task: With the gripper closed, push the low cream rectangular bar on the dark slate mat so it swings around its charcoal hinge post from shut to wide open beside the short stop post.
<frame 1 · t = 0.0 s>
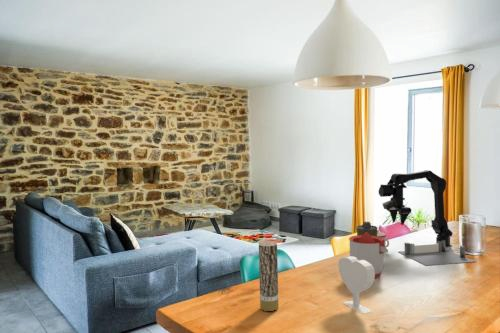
hand: (397, 223, 228), 15 cm above the table, tool pointing down, fingers open, 9 cm apart
citrus juicer: (368, 276, 184), on the table
cream rectangular bar: (425, 247, 217), point 3 cm above the table, hinge at 0.0°
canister: (367, 260, 208), on the table
teacup with lid: (379, 250, 226), on the table
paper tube: (269, 309, 149), on the table
mat: (435, 256, 211), on the table
heart sculpture: (356, 307, 149), on the table
gate posts: (443, 252, 219), resting on mat
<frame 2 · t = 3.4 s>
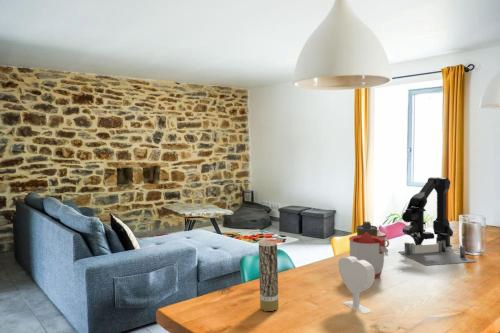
hand: (417, 248, 219), 3 cm above the table, tool pointing down, fingers closed
cream rectangular bar: (426, 247, 217), point 3 cm above the table, hinge at 1.0°, touching gripper
everything else where it was.
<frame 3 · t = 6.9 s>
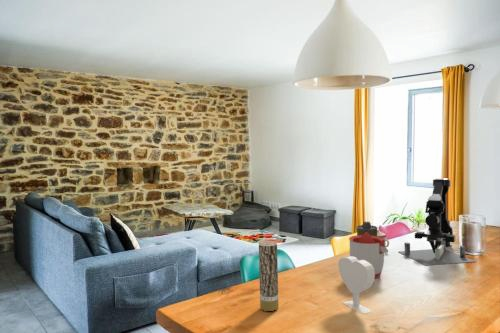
hand: (434, 253, 209), 3 cm above the table, tool pointing down, fingers closed
cream rectangular bar: (440, 250, 210), point 3 cm above the table, hinge at 46.8°, touching gripper
everything else where it was.
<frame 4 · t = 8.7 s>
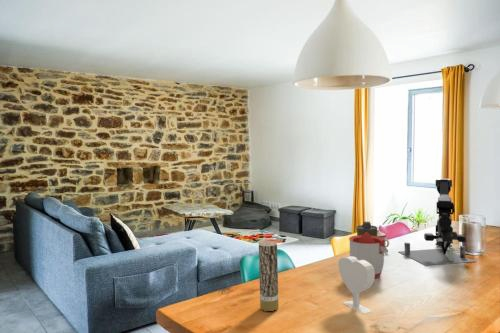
hand: (444, 254, 206), 3 cm above the table, tool pointing down, fingers closed
cream rectangular bar: (447, 251, 209), point 3 cm above the table, hinge at 66.1°, touching gripper
everything else where it was.
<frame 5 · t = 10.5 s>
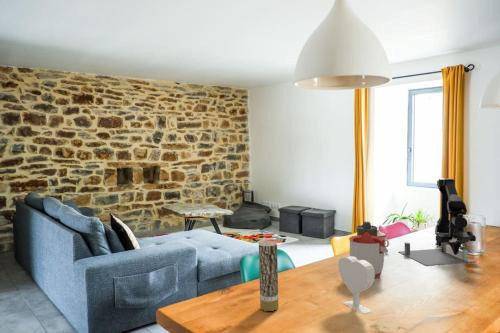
hand: (455, 254, 205), 3 cm above the table, tool pointing down, fingers closed
cream rectangular bar: (455, 251, 209), point 3 cm above the table, hinge at 87.6°, touching gripper
everything else where it was.
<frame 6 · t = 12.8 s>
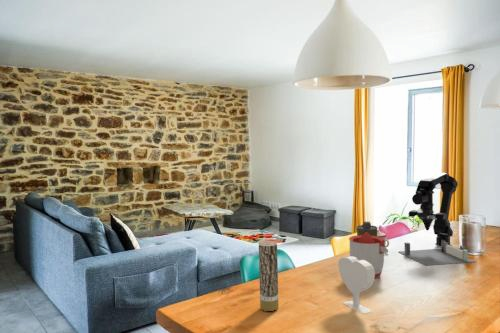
hand: (427, 230, 222), 12 cm above the table, tool pointing down, fingers closed
cream rectangular bar: (455, 251, 209), point 3 cm above the table, hinge at 87.7°
everything else where it was.
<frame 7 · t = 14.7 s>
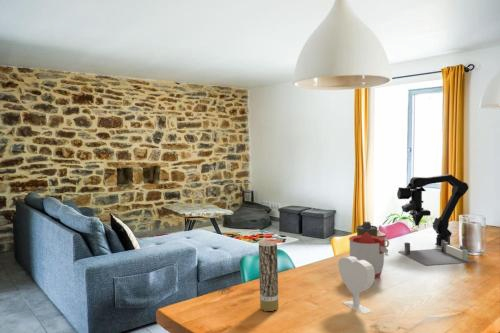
hand: (416, 225, 233), 12 cm above the table, tool pointing down, fingers closed
nothing on the table moved.
at the end: cream rectangular bar at +88° (first picture: +0°) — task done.
